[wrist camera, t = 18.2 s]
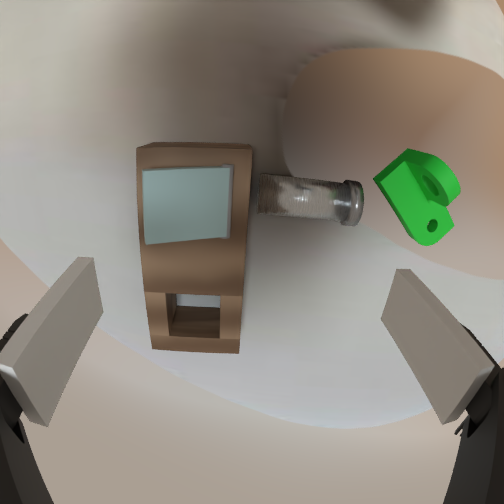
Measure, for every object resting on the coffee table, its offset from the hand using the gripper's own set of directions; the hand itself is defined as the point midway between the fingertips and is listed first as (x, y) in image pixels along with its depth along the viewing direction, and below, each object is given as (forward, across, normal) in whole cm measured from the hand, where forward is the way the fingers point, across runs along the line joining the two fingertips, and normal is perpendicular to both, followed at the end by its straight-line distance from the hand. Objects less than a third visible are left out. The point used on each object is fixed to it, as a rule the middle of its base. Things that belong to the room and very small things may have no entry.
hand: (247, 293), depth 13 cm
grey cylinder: (+20, +2, -1) cm, 20 cm away
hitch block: (+21, -4, -7) cm, 23 cm away
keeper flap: (+15, -1, 0) cm, 15 cm away
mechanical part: (+22, +22, 0) cm, 31 cm away
